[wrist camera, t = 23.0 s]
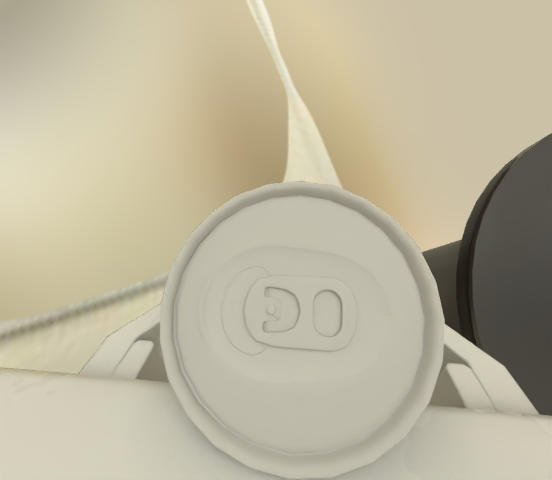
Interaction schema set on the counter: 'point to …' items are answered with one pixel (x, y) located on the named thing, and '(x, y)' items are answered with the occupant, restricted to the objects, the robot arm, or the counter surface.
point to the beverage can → (302, 330)
